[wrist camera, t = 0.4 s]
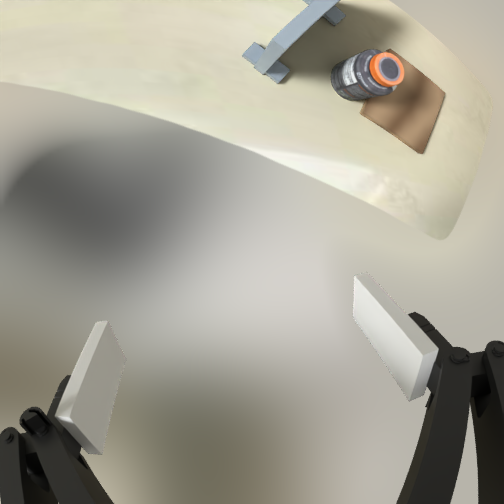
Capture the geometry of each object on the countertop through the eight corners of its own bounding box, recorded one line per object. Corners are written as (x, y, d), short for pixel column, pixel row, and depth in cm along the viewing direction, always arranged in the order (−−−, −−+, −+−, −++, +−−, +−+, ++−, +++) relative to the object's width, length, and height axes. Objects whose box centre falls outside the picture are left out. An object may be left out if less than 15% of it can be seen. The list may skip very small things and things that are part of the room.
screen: (275, 85, 35) (304, 65, 23) (240, 57, 33) (253, 25, 22) (344, 16, 32) (389, -15, 20) (313, -10, 30) (347, -50, 18)
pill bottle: (374, 85, 36) (420, 76, 26) (349, 109, 38) (392, 104, 27) (348, 54, 34) (388, 35, 24) (321, 77, 36) (357, 61, 25)
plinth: (359, 113, 38) (363, 113, 37) (386, 50, 34) (390, 48, 33) (418, 153, 41) (422, 153, 40) (440, 93, 37) (445, 92, 36)
